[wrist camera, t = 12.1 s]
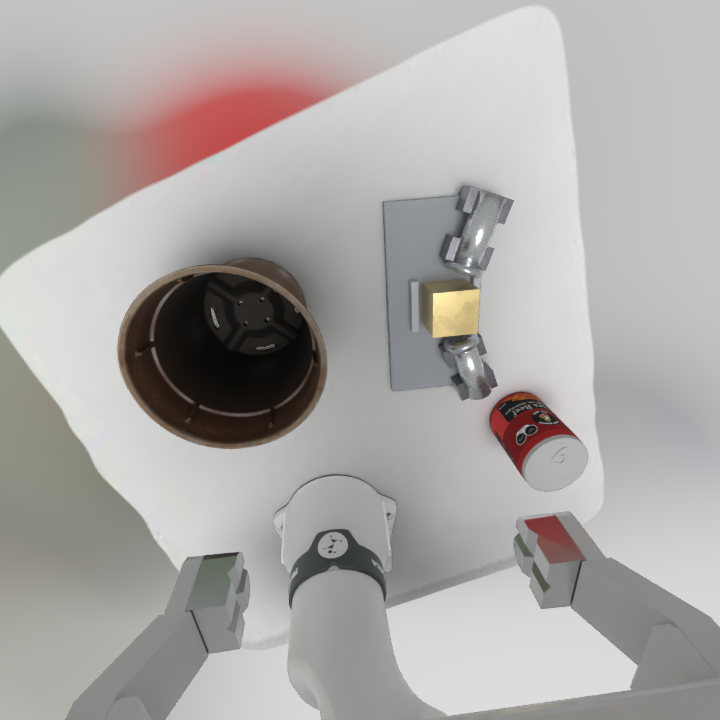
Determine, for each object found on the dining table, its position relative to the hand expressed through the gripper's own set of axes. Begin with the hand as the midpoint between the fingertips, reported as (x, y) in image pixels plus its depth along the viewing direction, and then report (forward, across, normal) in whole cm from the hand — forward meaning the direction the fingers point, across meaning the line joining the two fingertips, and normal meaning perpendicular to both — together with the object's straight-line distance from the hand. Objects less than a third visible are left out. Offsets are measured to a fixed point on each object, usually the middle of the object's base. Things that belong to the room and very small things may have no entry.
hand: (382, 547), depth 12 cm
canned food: (+37, -23, +22) cm, 49 cm away
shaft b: (+36, -15, -4) cm, 39 cm away
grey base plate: (+37, -12, +4) cm, 39 cm away
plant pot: (+37, +10, +3) cm, 39 cm away
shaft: (+37, -15, +12) cm, 42 cm away
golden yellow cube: (+36, -12, +4) cm, 38 cm away
